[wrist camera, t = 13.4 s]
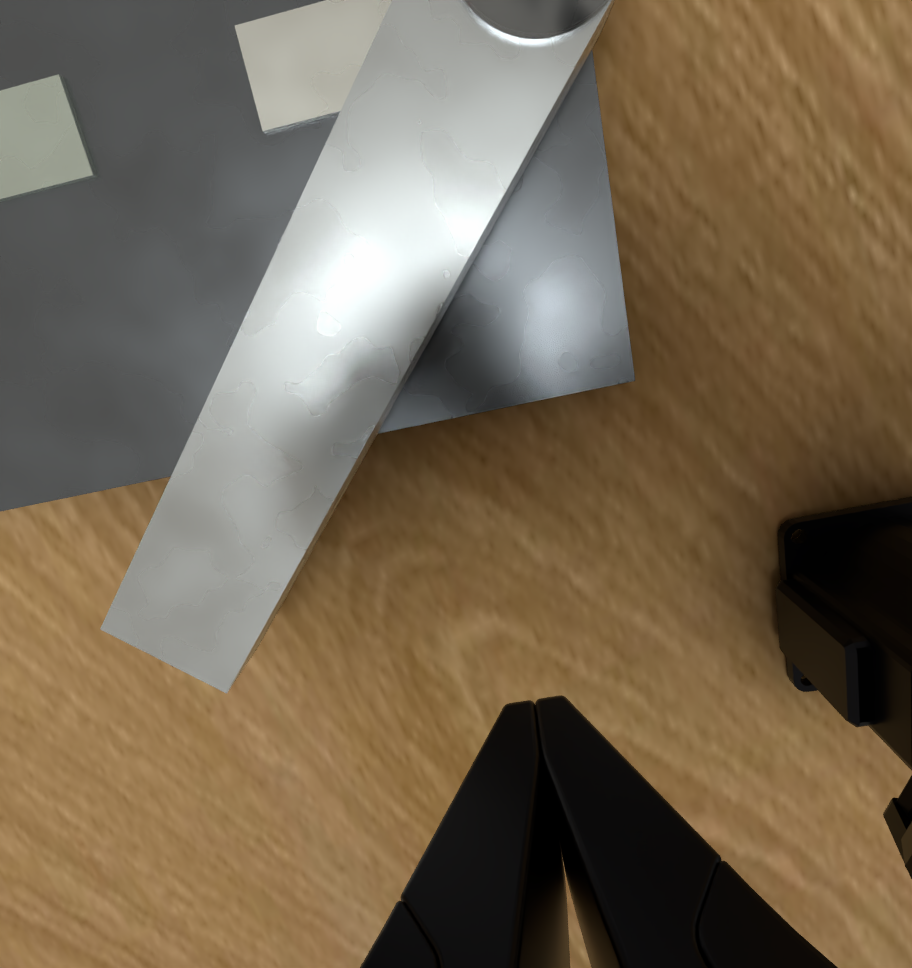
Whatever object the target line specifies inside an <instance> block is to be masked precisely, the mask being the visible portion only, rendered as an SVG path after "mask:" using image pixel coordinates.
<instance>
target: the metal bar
mask: <svg viewBox="0 0 912 968" xmlns="http://www.w3.org/2000/svg"><path fill="white" fill-rule="evenodd" d="M614 1H615V0H392V1H391V3H390V5H389V8H388V10H387V12H386V14H385V16H384V18H383V21H382V23H381V25H380V27H379V29H378V31H377V34H376V36H375V38H374V40H373V42H372V44H371V46H370V49H369V51H368V53H367V55H366V57H365V59H364V62H363V64H362V66H361V68H360V70H359V72H358V74H357V77H356V79H355V81H354V83H353V85H352V87H351V90H350V92H349V94H348V96H347V98H346V100H345V102H344V105H343V107H342V109H341V111H340V113H339V115H338V118H337V120H336V122H335V124H334V126H333V128H332V131H331V133H330V135H329V137H328V139H327V141H326V143H325V146H324V148H323V150H322V152H321V154H320V156H319V159H318V161H317V163H316V165H315V167H314V169H313V171H312V174H311V176H310V178H309V180H308V182H307V184H306V187H305V189H304V191H303V193H302V195H301V197H300V200H299V202H298V204H297V206H296V208H295V210H294V212H293V215H292V217H291V219H290V221H289V223H288V225H287V228H286V230H285V232H284V234H283V236H282V238H281V240H280V243H279V245H278V247H277V249H276V251H275V253H274V256H273V258H272V260H271V262H270V264H269V266H268V269H267V271H266V273H265V275H264V277H263V279H262V281H261V284H260V286H259V288H258V290H257V292H256V294H255V297H254V299H253V301H252V303H251V305H250V307H249V309H248V312H247V314H246V316H245V318H244V320H243V322H242V325H241V327H240V329H239V331H238V333H237V335H236V337H235V340H234V342H233V344H232V346H231V348H230V350H229V353H228V355H227V357H226V359H225V361H224V363H223V366H222V368H221V370H220V372H219V374H218V376H217V378H216V381H215V383H214V385H213V387H212V389H211V391H210V394H209V396H208V398H207V400H206V402H205V404H204V406H203V409H202V411H201V413H200V415H199V417H198V419H197V422H196V424H195V426H194V428H193V430H192V432H191V435H190V437H189V439H188V441H187V443H186V445H185V447H184V450H183V452H182V454H181V456H180V458H179V460H178V463H177V465H176V467H175V469H174V471H173V473H172V475H171V478H170V480H169V482H168V484H167V486H166V488H165V491H164V493H163V495H162V497H161V499H160V501H159V503H158V506H157V508H156V510H155V512H154V514H153V516H152V519H151V521H150V523H149V525H148V527H147V529H146V532H145V534H144V536H143V538H142V540H141V542H140V544H139V547H138V549H137V551H136V553H135V555H134V557H133V560H132V562H131V564H130V566H129V568H128V570H127V572H126V575H125V577H124V579H123V581H122V583H121V585H120V588H119V590H118V592H117V594H116V596H115V598H114V601H113V603H112V605H111V607H110V609H109V611H108V613H107V616H106V618H105V620H104V622H103V624H102V626H101V630H103V631H105V632H107V633H109V634H110V635H112V636H114V637H116V638H118V639H120V640H122V641H124V642H126V643H128V644H130V645H132V646H134V647H136V648H138V649H140V650H142V651H144V652H146V653H148V654H150V655H152V656H154V657H156V658H158V659H160V660H162V661H164V662H166V663H168V664H170V665H172V666H174V667H176V668H178V669H180V670H181V671H183V672H185V673H187V674H189V675H191V676H193V677H195V678H197V679H199V680H201V681H203V682H205V683H207V684H209V685H211V686H213V687H215V688H217V689H219V690H221V691H223V692H225V693H228V691H229V690H230V688H231V687H232V685H233V684H234V682H235V681H236V679H237V678H238V676H239V675H240V673H241V672H242V670H243V669H244V667H245V666H246V664H247V663H248V661H249V660H250V658H251V657H252V656H253V654H254V653H255V651H256V650H257V648H258V646H259V645H260V643H261V641H262V639H263V638H264V636H265V634H266V632H267V630H268V629H269V627H270V625H271V623H272V621H273V620H274V618H275V616H276V614H277V612H278V611H279V609H280V607H281V605H282V604H283V602H284V600H285V598H286V596H287V595H288V593H289V591H290V589H291V587H292V586H293V584H294V582H295V580H296V578H297V577H298V575H299V573H300V571H301V569H302V568H303V566H304V564H305V562H306V561H307V559H308V557H309V555H310V553H311V552H312V550H313V548H314V546H315V544H316V543H317V541H318V539H319V537H320V535H321V534H322V532H323V530H324V528H325V527H326V525H327V523H328V521H329V519H330V518H331V516H332V514H333V512H334V510H335V509H336V507H337V505H338V503H339V501H340V500H341V498H342V496H343V494H344V493H345V491H346V489H347V487H348V485H349V484H350V482H351V480H352V478H353V476H354V475H355V473H356V471H357V469H358V467H359V466H360V464H361V462H362V460H363V458H364V457H365V455H366V453H367V451H368V450H369V448H370V446H371V444H372V442H373V441H374V439H375V437H376V435H377V433H378V432H379V430H380V428H381V426H382V424H383V423H384V421H385V419H386V417H387V416H388V414H389V412H390V410H391V408H392V407H393V405H394V403H395V401H396V399H397V398H398V396H399V394H400V392H401V390H402V389H403V387H404V385H405V383H406V381H407V380H408V378H409V376H410V374H411V373H412V371H413V369H414V367H415V365H416V364H417V362H418V360H419V358H420V356H421V355H422V353H423V351H424V349H425V347H426V346H427V344H428V342H429V340H430V339H431V337H432V335H433V333H434V331H435V330H436V328H437V326H438V324H439V322H440V321H441V319H442V317H443V315H444V313H445V312H446V310H447V308H448V306H449V305H450V303H451V301H452V299H453V297H454V296H455V294H456V292H457V290H458V288H459V287H460V285H461V283H462V281H463V279H464V278H465V276H466V274H467V272H468V270H469V269H470V267H471V265H472V263H473V262H474V260H475V258H476V256H477V254H478V253H479V251H480V249H481V247H482V245H483V244H484V242H485V240H486V238H487V236H488V235H489V233H490V231H491V229H492V228H493V226H494V224H495V222H496V220H497V219H498V217H499V215H500V213H501V211H502V210H503V208H504V206H505V204H506V202H507V201H508V199H509V197H510V195H511V194H512V192H513V190H514V188H515V186H516V185H517V183H518V181H519V179H520V177H521V176H522V174H523V172H524V170H525V168H526V167H527V165H528V163H529V161H530V159H531V158H532V156H533V154H534V152H535V151H536V149H537V147H538V145H539V143H540V142H541V140H542V138H543V136H544V134H545V133H546V131H547V129H548V127H549V125H550V124H551V122H552V120H553V118H554V117H555V115H556V113H557V111H558V109H559V108H560V106H561V104H562V102H563V100H564V99H565V97H566V95H567V93H568V91H569V90H570V88H571V86H572V84H573V82H574V81H575V79H576V77H577V75H578V74H579V72H580V70H581V68H582V66H583V65H584V63H585V61H586V59H587V57H588V56H589V54H590V52H591V50H592V48H593V47H594V45H595V43H596V41H597V40H598V38H599V35H600V33H601V31H602V29H603V27H604V25H605V22H606V20H607V18H608V15H609V13H610V11H611V8H612V6H613V4H614Z"/></svg>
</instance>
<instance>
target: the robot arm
mask: <svg viewBox="0 0 912 968" xmlns="http://www.w3.org/2000/svg"><path fill="white" fill-rule="evenodd" d="M798 529H800V530H801V533H800V535H799V537H798V538H796V539H791V537H792V534H793V533H794V532H795V531H796V530H798ZM778 545H779V559H780V573H781V581H780V582H779V583H778V585H777V587H776V603H777V616H778V629H779V643H780V649H781V651H782V652H783V653H784V654H785V655H786V657H787V671H788V677H789V680H790V681H791V682H792V683H793V684H794V686H795V687H796V688H797V689H798V690H801V691H803V692H809V691H816V690H818V691H819V692H820V693H821V694H822V695H823V696H824V697H825V698H826V699H827V700H828V701H829V702H830V704H831V705H832V706H833V707H834V708H835V709H836V710H837V711H838V712H839V713H840V714H841V715H842V716H843V718H844V719H845V720H846V721H848V722H849V723H851V724H853V725H854V726H856V727H861V726H869V727H870V728H871V729H872V730H873V731H874V732H875V733H876V734H877V735H878V736H879V737H880V738H881V739H882V740H883V741H884V742H885V743H886V744H887V745H888V746H889V747H890V748H891V749H892V750H893V752H894V753H895V754H896V755H897V756H898V757H899V758H900V759H901V760H902V761H903V762H904V763H905V764H906V765H907V766H908V767H909V768H910V769H911V770H912V497H909V498H903V499H898V500H892V501H887V502H881V503H876V504H870V505H864V506H859V507H853V508H848V509H842V510H837V511H831V512H826V513H820V514H815V515H809V516H803V517H798V518H792V519H790V520H787V521H785V522H784V523H783V524H782V525H781V526H780V528H779V530H778ZM803 675H805V677H806V678H804V679H801V677H802V676H803ZM883 816H884V818H885V821H886V823H887V825H888V827H889V829H890V832H891V834H892V836H893V838H894V841H895V843H896V845H897V847H898V850H899V852H900V854H901V856H902V859H903V861H904V863H905V867H906V868H907V870H908V872H909V874H910V876H911V879H912V776H911V777H910V779H909V781H908V782H907V784H906V786H905V787H904V789H903V791H902V793H901V794H900V796H899V798H892V800H891V801H890V803H889V805H888V807H887V808H886V810H885V812H884V813H883ZM561 852H562V853H561ZM562 857H563V859H562ZM563 862H564V866H563ZM564 867H565V872H566V877H567V881H568V885H569V889H570V893H571V897H572V900H573V904H574V907H575V911H576V914H577V918H578V921H579V925H580V928H581V932H582V935H583V939H584V943H585V946H586V950H587V953H588V957H589V960H590V964H591V967H592V968H837V967H836V966H835V965H834V964H833V963H832V962H831V961H829V960H828V959H827V958H826V957H825V956H824V955H823V954H821V953H820V952H819V951H818V950H817V949H816V948H815V947H814V946H812V945H811V944H810V943H809V942H808V941H807V940H806V939H804V938H803V937H802V936H801V935H800V934H799V933H798V932H796V931H795V930H794V929H793V928H792V927H791V926H790V925H789V924H788V923H787V922H786V921H785V920H784V919H783V918H782V917H781V916H780V915H779V914H778V913H777V912H776V911H775V910H774V909H773V908H772V907H771V906H770V905H768V904H767V903H766V902H765V901H764V900H763V899H762V898H761V897H760V896H759V895H758V894H757V893H756V892H755V891H754V890H753V889H752V888H751V887H750V886H749V885H748V884H747V883H746V882H745V881H744V880H743V879H742V878H741V877H740V876H739V875H738V873H737V872H736V871H735V870H734V869H733V868H732V867H731V866H730V865H729V864H728V863H727V862H725V861H721V857H720V855H719V854H718V853H717V852H716V851H715V850H714V849H713V848H712V847H711V846H710V845H709V844H708V843H707V842H706V841H705V840H704V839H703V838H702V837H701V836H700V835H699V834H698V833H697V832H696V831H695V830H694V829H693V828H692V827H691V826H690V825H689V824H688V823H687V821H686V820H685V819H684V818H683V817H682V816H681V815H680V814H679V813H678V812H677V811H676V810H675V809H674V808H673V807H672V806H671V805H670V804H669V803H668V802H667V801H666V800H665V799H664V798H663V797H662V796H661V795H660V794H659V793H658V792H657V791H656V790H655V789H654V788H653V787H652V786H651V785H650V783H649V782H648V781H647V780H646V779H645V778H644V777H643V776H642V775H641V774H640V773H639V772H638V771H637V770H636V769H635V768H634V767H633V766H632V765H631V764H630V763H629V762H628V761H627V760H626V759H625V758H624V757H623V756H622V755H621V754H620V753H619V752H618V751H617V750H616V749H615V748H614V747H613V745H612V744H611V743H610V742H609V741H608V740H607V739H606V738H605V737H604V736H603V735H602V734H601V733H600V732H599V731H598V730H597V729H596V728H595V727H594V726H593V725H592V724H591V723H590V722H589V721H588V720H587V719H586V718H585V717H584V716H583V715H582V714H581V713H580V712H579V711H578V710H577V709H576V708H575V706H574V705H573V704H572V703H571V702H570V701H569V700H568V699H567V698H566V697H564V696H554V697H547V698H541V699H538V700H537V701H536V703H535V704H534V702H533V701H531V700H528V701H522V702H515V703H509V704H506V705H505V706H504V707H503V709H502V711H501V713H500V715H499V717H498V718H497V720H496V722H495V724H494V726H493V728H492V729H491V731H490V733H489V735H488V737H487V739H486V740H485V742H484V744H483V746H482V748H481V750H480V751H479V753H478V755H477V757H476V759H475V761H474V762H473V764H472V766H471V768H470V770H469V772H468V773H467V775H466V777H465V779H464V781H463V783H462V784H461V786H460V788H459V790H458V792H457V794H456V795H455V797H454V799H453V801H452V803H451V805H450V806H449V808H448V810H447V812H446V814H445V816H444V817H443V819H442V821H441V823H440V825H439V827H438V828H437V830H436V832H435V834H434V836H433V838H432V840H431V841H430V843H429V845H428V847H427V849H426V851H425V852H424V854H423V856H422V858H421V860H420V862H419V863H418V865H417V867H416V869H415V871H414V873H413V874H412V876H411V878H410V880H409V882H408V884H407V885H406V887H405V889H404V891H403V893H402V895H401V901H398V902H397V903H396V905H395V907H394V909H393V910H392V912H391V914H390V916H389V918H388V920H387V921H386V923H385V925H384V927H383V929H382V931H381V932H380V934H379V936H378V938H377V939H376V941H375V943H374V944H373V946H372V948H371V950H370V951H369V953H368V955H367V956H366V958H365V960H364V962H363V963H362V965H361V967H360V968H570V953H569V934H568V914H567V896H566V883H565V874H564Z"/></svg>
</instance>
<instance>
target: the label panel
mask: <svg viewBox="0 0 912 968" xmlns="http://www.w3.org/2000/svg"><path fill="white" fill-rule="evenodd" d="M391 1H392V0H0V511H4V510H9V509H14V508H19V507H24V506H29V505H34V504H38V503H43V502H48V501H53V500H58V499H63V498H68V497H72V496H77V495H82V494H87V493H92V492H97V491H102V490H106V489H111V488H116V487H121V486H126V485H131V484H136V483H140V482H145V481H150V480H155V479H160V478H165V477H170V476H171V475H172V473H173V471H174V469H175V467H176V465H177V463H178V460H179V458H180V456H181V454H182V452H183V450H184V447H185V445H186V443H187V441H188V439H189V437H190V435H191V432H192V430H193V428H194V426H195V424H196V422H197V419H198V417H199V415H200V413H201V411H202V409H203V406H204V404H205V402H206V400H207V398H208V396H209V394H210V391H211V389H212V387H213V385H214V383H215V381H216V378H217V376H218V374H219V372H220V370H221V368H222V366H223V363H224V361H225V359H226V357H227V355H228V353H229V350H230V348H231V346H232V344H233V342H234V340H235V337H236V335H237V333H238V331H239V329H240V327H241V325H242V322H243V320H244V318H245V316H246V314H247V312H248V309H249V307H250V305H251V303H252V301H253V299H254V297H255V294H256V292H257V290H258V288H259V286H260V284H261V281H262V279H263V277H264V275H265V273H266V271H267V269H268V266H269V264H270V262H271V260H272V258H273V256H274V253H275V251H276V249H277V247H278V245H279V243H280V240H281V238H282V236H283V234H284V232H285V230H286V228H287V225H288V223H289V221H290V219H291V217H292V215H293V212H294V210H295V208H296V206H297V204H298V202H299V200H300V197H301V195H302V193H303V191H304V189H305V187H306V184H307V182H308V180H309V178H310V176H311V174H312V171H313V169H314V167H315V165H316V163H317V161H318V159H319V156H320V154H321V152H322V150H323V148H324V146H325V143H326V141H327V139H328V137H329V135H330V133H331V131H332V128H333V126H334V124H335V122H336V120H337V118H338V115H339V113H340V111H341V109H342V107H343V105H344V102H345V100H346V98H347V96H348V94H349V92H350V90H351V87H352V85H353V83H354V81H355V79H356V77H357V74H358V72H359V70H360V68H361V66H362V64H363V62H364V59H365V57H366V55H367V53H368V51H369V49H370V46H371V44H372V42H373V40H374V38H375V36H376V34H377V31H378V29H379V27H380V25H381V23H382V21H383V18H384V16H385V14H386V12H387V10H388V8H389V5H390V3H391ZM631 381H635V376H634V368H633V360H632V353H631V345H630V337H629V330H628V322H627V314H626V307H625V299H624V291H623V284H622V276H621V268H620V260H619V253H618V245H617V237H616V230H615V222H614V214H613V207H612V199H611V191H610V184H609V176H608V168H607V161H606V153H605V145H604V137H603V130H602V122H601V114H600V107H599V99H598V91H597V84H596V76H595V68H594V61H593V53H592V50H591V52H590V54H589V56H588V57H587V59H586V61H585V63H584V65H583V66H582V68H581V70H580V72H579V74H578V75H577V77H576V79H575V81H574V82H573V84H572V86H571V88H570V90H569V91H568V93H567V95H566V97H565V99H564V100H563V102H562V104H561V106H560V108H559V109H558V111H557V113H556V115H555V117H554V118H553V120H552V122H551V124H550V125H549V127H548V129H547V131H546V133H545V134H544V136H543V138H542V140H541V142H540V143H539V145H538V147H537V149H536V151H535V152H534V154H533V156H532V158H531V159H530V161H529V163H528V165H527V167H526V168H525V170H524V172H523V174H522V176H521V177H520V179H519V181H518V183H517V185H516V186H515V188H514V190H513V192H512V194H511V195H510V197H509V199H508V201H507V202H506V204H505V206H504V208H503V210H502V211H501V213H500V215H499V217H498V219H497V220H496V222H495V224H494V226H493V228H492V229H491V231H490V233H489V235H488V236H487V238H486V240H485V242H484V244H483V245H482V247H481V249H480V251H479V253H478V254H477V256H476V258H475V260H474V262H473V263H472V265H471V267H470V269H469V270H468V272H467V274H466V276H465V278H464V279H463V281H462V283H461V285H460V287H459V288H458V290H457V292H456V294H455V296H454V297H453V299H452V301H451V303H450V305H449V306H448V308H447V310H446V312H445V313H444V315H443V317H442V319H441V321H440V322H439V324H438V326H437V328H436V330H435V331H434V333H433V335H432V337H431V339H430V340H429V342H428V344H427V346H426V347H425V349H424V351H423V353H422V355H421V356H420V358H419V360H418V362H417V364H416V365H415V367H414V369H413V371H412V373H411V374H410V376H409V378H408V380H407V381H406V383H405V385H404V387H403V389H402V390H401V392H400V394H399V396H398V398H397V399H396V401H395V403H394V405H393V407H392V408H391V410H390V412H389V414H388V416H387V417H386V419H385V421H384V423H383V424H382V426H381V428H380V430H379V432H378V433H383V432H388V431H393V430H398V429H403V428H408V427H412V426H417V425H422V424H427V423H432V422H437V421H442V420H446V419H451V418H456V417H461V416H466V415H471V414H476V413H480V412H485V411H490V410H495V409H500V408H505V407H510V406H514V405H519V404H524V403H529V402H534V401H539V400H544V399H548V398H553V397H558V396H563V395H568V394H573V393H578V392H582V391H587V390H592V389H597V388H602V387H607V386H612V385H616V384H621V383H626V382H631ZM378 433H377V434H378Z"/></svg>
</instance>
